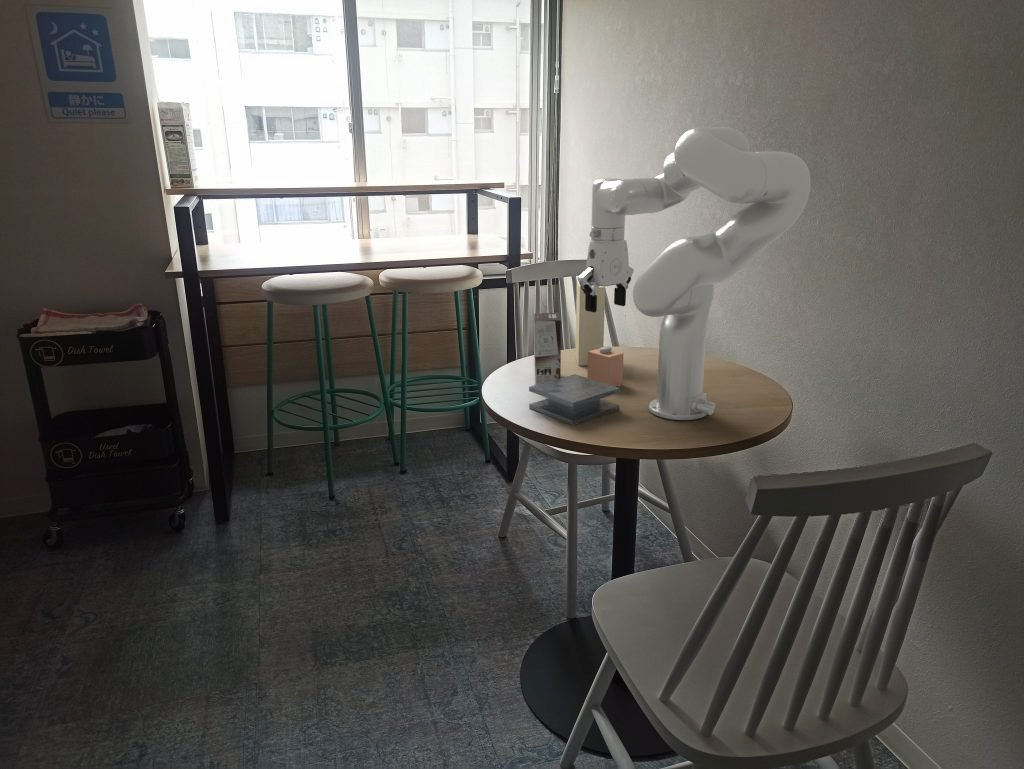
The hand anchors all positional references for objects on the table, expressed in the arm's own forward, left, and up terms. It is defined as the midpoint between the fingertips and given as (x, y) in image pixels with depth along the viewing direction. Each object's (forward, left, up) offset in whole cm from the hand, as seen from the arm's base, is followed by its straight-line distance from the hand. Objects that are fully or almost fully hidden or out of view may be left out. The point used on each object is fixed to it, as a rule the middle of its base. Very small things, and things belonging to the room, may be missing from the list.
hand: (605, 308), depth 171 cm
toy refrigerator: (+16, -11, -19) cm, 27 cm away
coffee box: (+12, +8, -19) cm, 24 cm away
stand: (-8, +18, -19) cm, 27 cm away
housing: (0, 0, -19) cm, 19 cm away
